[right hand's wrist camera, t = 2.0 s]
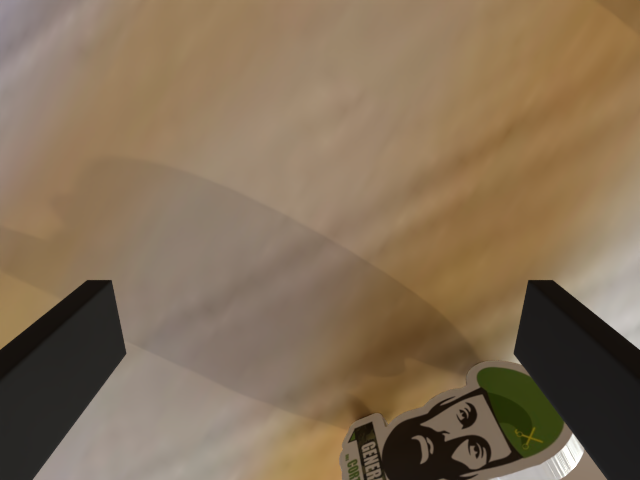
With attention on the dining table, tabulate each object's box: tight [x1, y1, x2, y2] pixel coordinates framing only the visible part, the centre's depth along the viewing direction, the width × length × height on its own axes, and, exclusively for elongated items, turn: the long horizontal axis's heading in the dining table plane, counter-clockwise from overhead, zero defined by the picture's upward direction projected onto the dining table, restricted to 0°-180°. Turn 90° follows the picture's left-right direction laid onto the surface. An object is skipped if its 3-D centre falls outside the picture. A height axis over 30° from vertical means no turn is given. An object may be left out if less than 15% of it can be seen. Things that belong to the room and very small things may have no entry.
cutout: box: [339, 360, 584, 480], centre depth 42 cm, size 15×3×25 cm
